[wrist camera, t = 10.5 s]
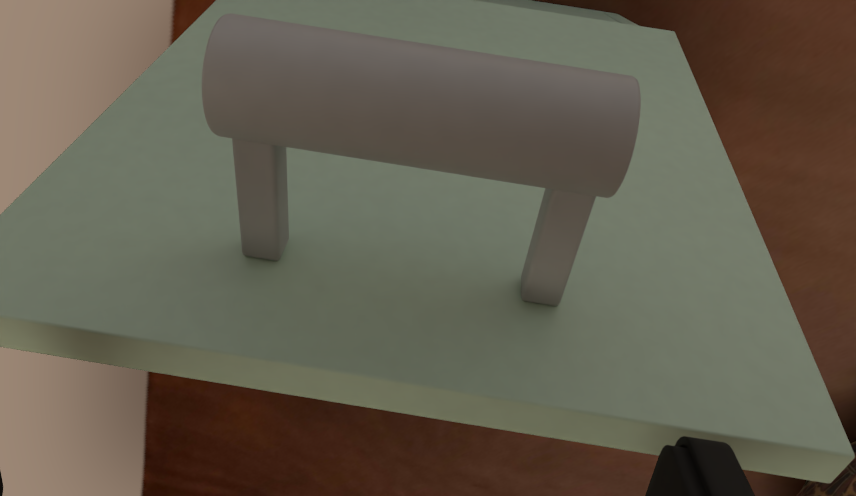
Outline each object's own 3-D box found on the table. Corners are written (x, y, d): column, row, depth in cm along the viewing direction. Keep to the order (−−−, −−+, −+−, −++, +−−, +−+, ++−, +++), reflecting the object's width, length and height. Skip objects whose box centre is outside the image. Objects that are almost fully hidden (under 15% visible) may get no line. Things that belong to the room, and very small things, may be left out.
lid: (831, 485, 11) (1057, 245, 7) (-70, 335, 11) (-232, 40, 8) (667, 53, 23) (724, -106, 20) (251, -12, 23) (242, -178, 20)
